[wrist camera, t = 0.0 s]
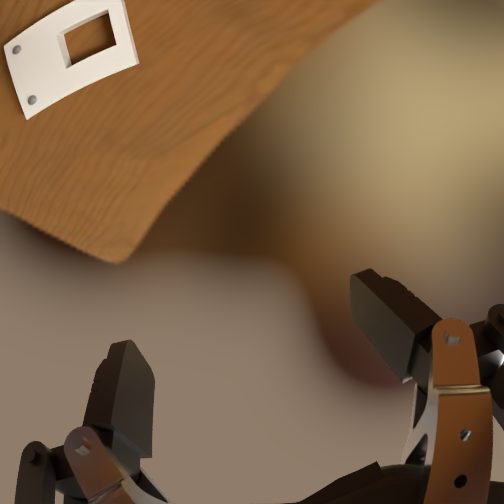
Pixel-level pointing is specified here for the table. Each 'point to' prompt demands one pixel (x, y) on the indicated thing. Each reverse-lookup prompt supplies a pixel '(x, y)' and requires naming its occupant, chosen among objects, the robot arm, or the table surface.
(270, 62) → the table surface
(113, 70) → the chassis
